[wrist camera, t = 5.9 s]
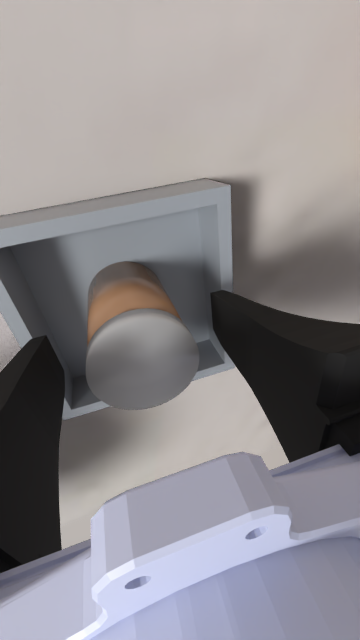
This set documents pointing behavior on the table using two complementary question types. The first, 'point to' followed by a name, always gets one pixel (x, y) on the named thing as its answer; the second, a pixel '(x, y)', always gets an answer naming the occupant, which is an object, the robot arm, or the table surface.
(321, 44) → the table surface
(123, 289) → the shaker
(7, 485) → the robot arm
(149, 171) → the table surface
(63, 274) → the bin
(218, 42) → the table surface
